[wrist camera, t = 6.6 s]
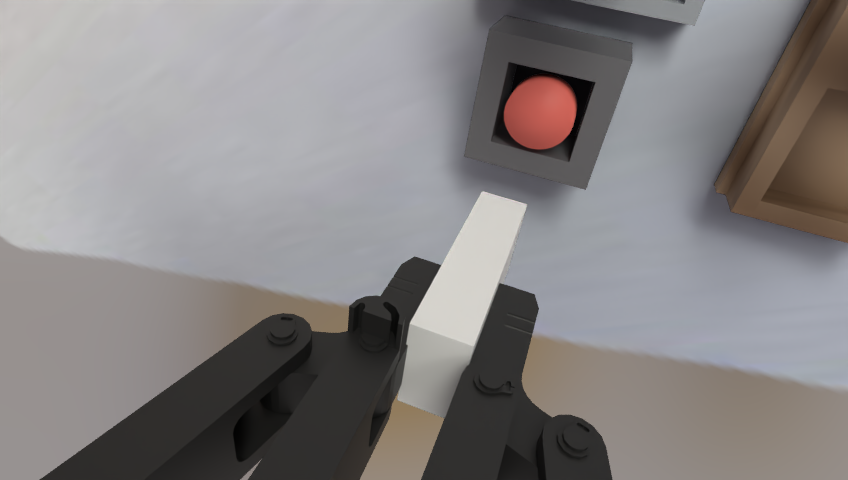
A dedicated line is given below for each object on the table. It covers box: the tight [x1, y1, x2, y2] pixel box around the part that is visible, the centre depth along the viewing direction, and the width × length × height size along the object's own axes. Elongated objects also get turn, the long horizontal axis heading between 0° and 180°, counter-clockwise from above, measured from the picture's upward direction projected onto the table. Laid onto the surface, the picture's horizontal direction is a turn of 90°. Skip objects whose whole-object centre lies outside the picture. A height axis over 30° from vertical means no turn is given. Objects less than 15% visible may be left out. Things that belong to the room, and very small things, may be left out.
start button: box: [504, 73, 577, 149], centre depth 27 cm, size 4×4×2 cm
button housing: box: [464, 16, 632, 190], centre depth 29 cm, size 7×7×4 cm
